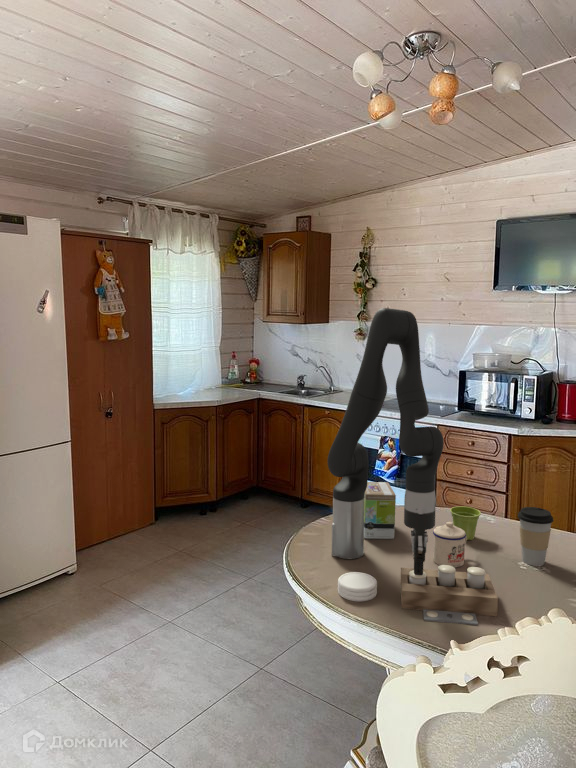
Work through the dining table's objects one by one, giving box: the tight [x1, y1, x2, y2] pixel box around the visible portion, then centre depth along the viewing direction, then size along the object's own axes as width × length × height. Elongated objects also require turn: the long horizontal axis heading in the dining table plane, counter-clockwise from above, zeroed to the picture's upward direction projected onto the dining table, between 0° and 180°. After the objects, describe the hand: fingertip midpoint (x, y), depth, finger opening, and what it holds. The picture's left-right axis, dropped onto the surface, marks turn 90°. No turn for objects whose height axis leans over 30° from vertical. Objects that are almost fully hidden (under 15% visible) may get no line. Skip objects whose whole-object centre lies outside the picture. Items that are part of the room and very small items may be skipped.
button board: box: [399, 567, 499, 617], centre depth 140 cm, size 22×13×4 cm, turn 80°
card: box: [422, 609, 479, 626], centre depth 132 cm, size 12×4×1 cm, turn 80°
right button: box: [467, 566, 486, 589], centre depth 139 cm, size 4×4×4 cm
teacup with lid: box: [432, 521, 468, 569], centre depth 163 cm, size 12×9×12 cm
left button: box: [409, 570, 426, 585], centre depth 141 cm, size 4×4×4 cm
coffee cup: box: [517, 506, 554, 567], centre depth 162 cm, size 9×9×15 cm
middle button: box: [437, 565, 457, 587], centre depth 140 cm, size 4×4×4 cm
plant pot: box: [449, 505, 482, 541], centre depth 180 cm, size 9×9×9 cm
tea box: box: [364, 481, 397, 540], centre depth 186 cm, size 15×10×15 cm
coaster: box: [337, 571, 378, 602], centre depth 144 cm, size 10×10×4 cm
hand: (418, 573), depth 141 cm, fingers closed
